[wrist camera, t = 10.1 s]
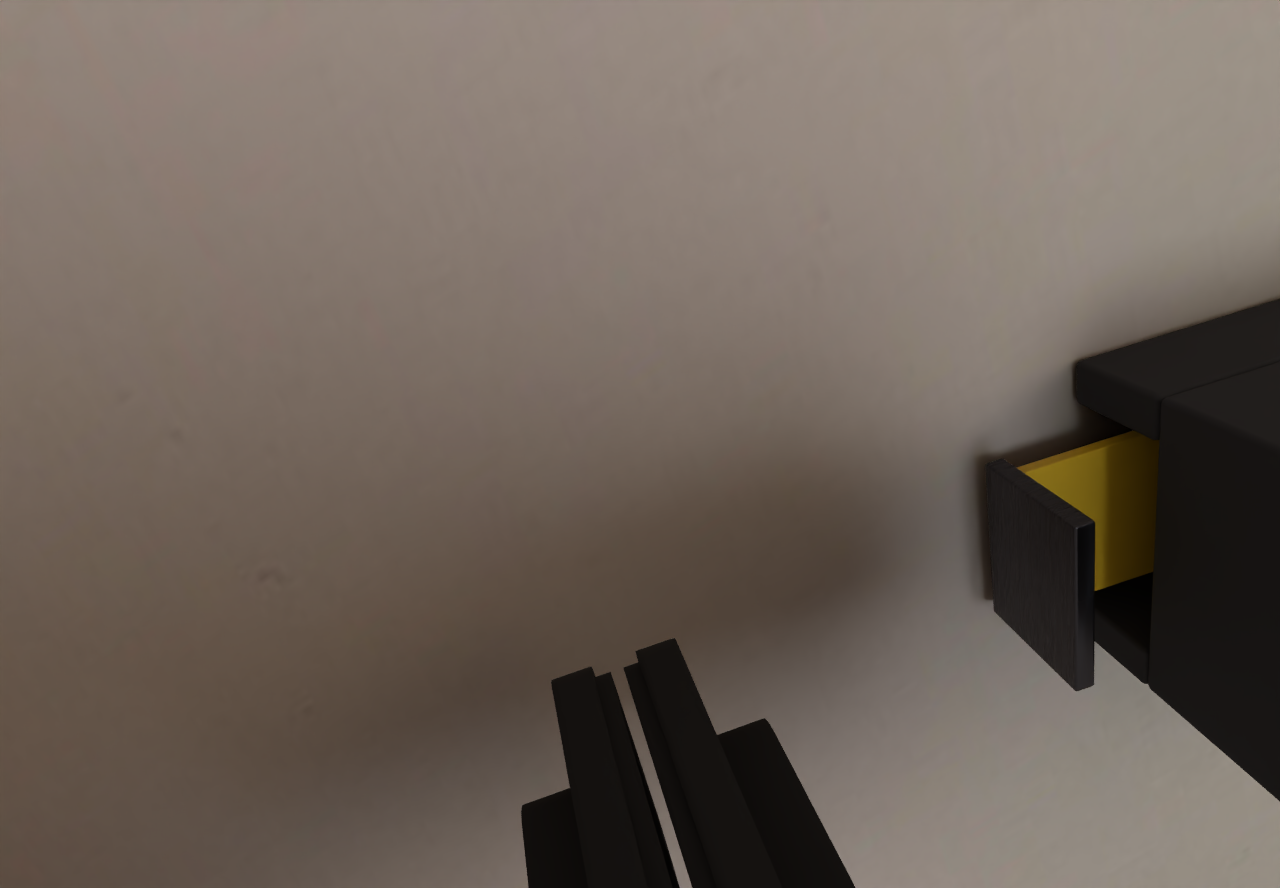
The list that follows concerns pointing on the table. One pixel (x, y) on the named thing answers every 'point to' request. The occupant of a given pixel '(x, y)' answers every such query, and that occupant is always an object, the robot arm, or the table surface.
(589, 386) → the table surface
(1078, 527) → the tape blade
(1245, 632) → the tape case
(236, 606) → the table surface
